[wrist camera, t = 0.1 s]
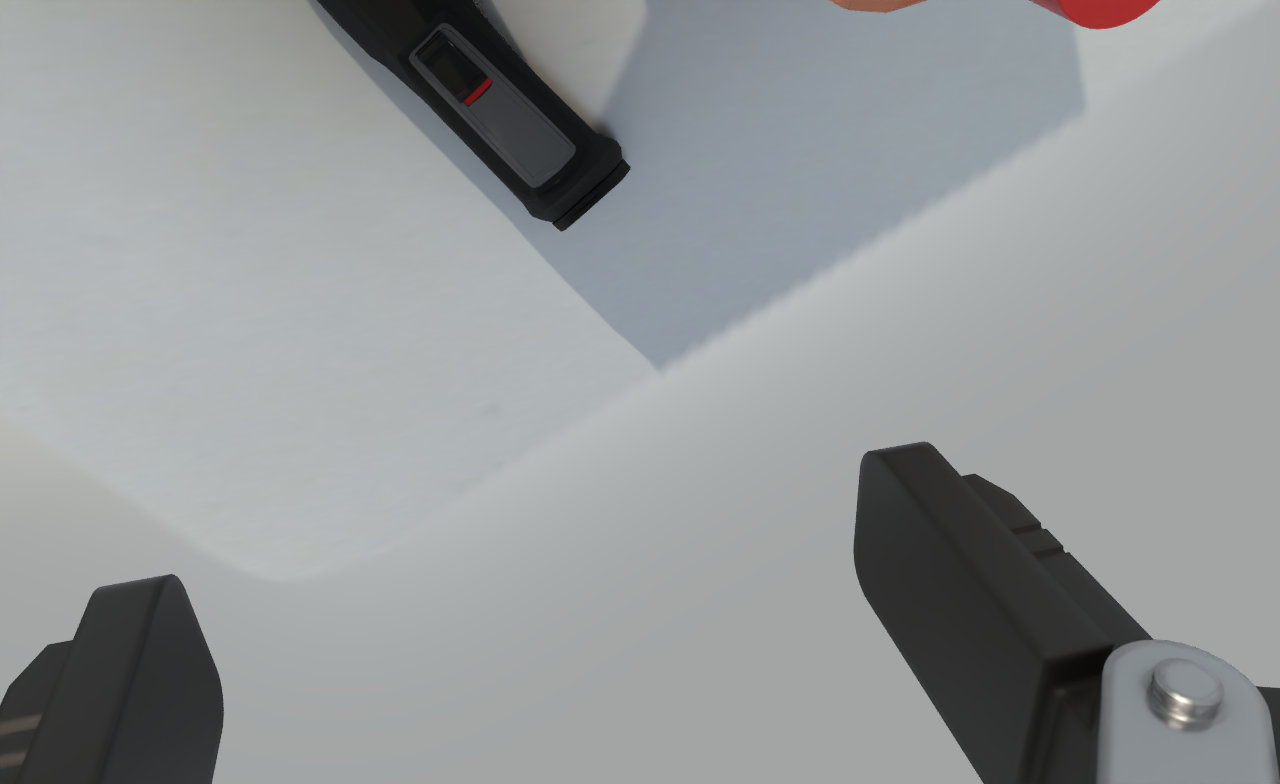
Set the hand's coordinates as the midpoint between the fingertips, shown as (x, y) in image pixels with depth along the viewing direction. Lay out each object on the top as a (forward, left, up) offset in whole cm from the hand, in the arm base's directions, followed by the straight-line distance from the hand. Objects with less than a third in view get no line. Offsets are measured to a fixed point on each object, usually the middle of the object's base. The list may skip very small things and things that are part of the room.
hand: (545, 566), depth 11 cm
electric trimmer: (0, 0, -23) cm, 23 cm away
